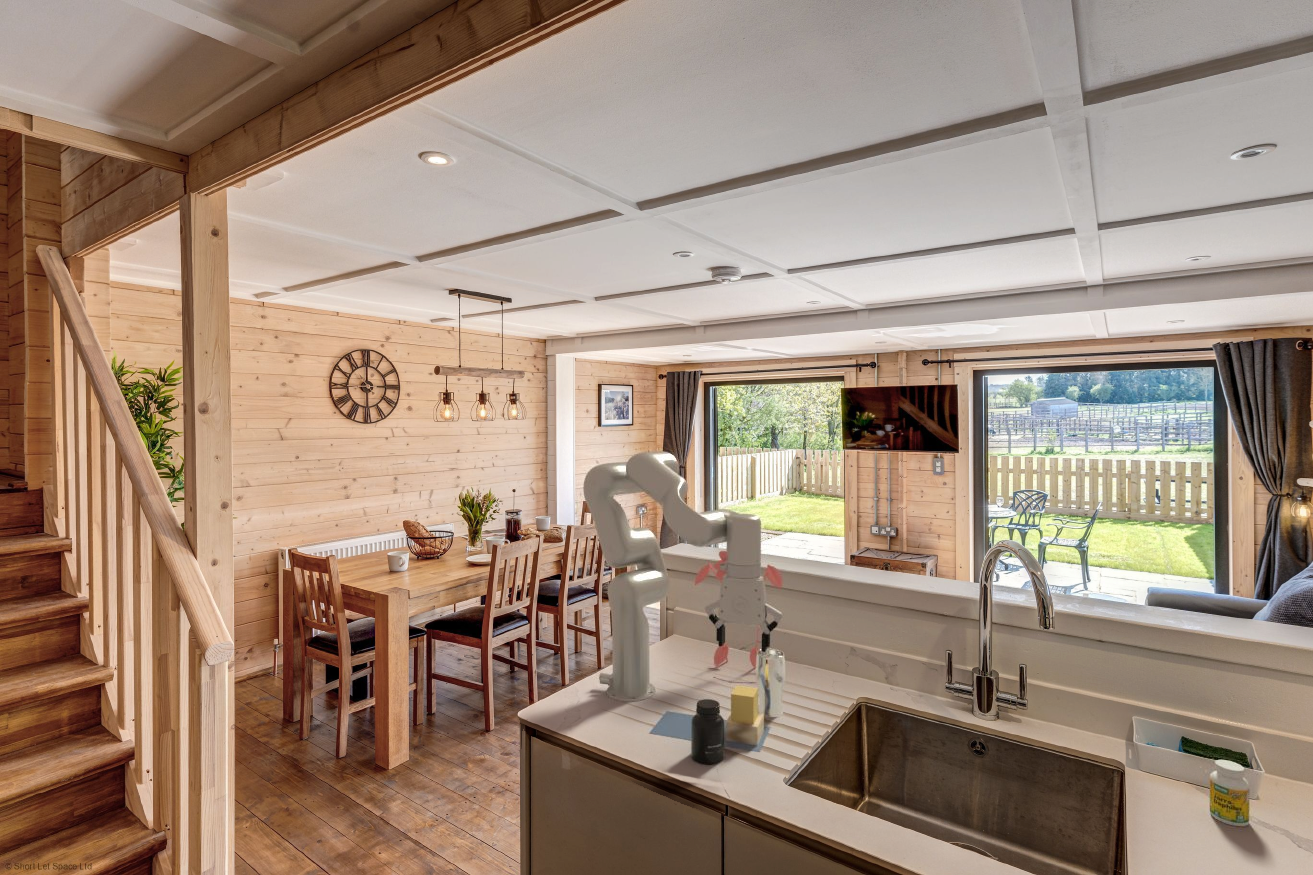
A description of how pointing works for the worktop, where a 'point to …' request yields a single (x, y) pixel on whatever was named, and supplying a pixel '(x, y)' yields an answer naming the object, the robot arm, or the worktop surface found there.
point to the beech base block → (745, 731)
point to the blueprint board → (681, 728)
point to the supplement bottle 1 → (707, 733)
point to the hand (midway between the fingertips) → (743, 647)
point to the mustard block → (744, 704)
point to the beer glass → (770, 681)
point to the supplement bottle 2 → (1229, 793)
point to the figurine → (723, 651)
